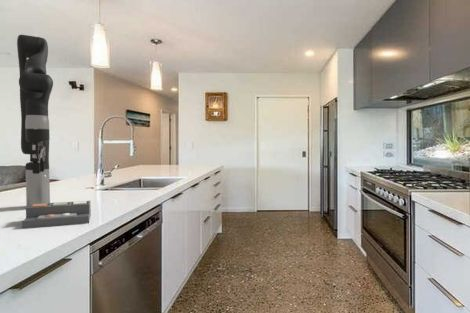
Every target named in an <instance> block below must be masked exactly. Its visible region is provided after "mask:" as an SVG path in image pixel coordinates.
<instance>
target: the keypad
mask: <svg viewBox="0 0 470 313" xmlns="http://www.w3.org/2000/svg"><path fill="white" fill-rule="evenodd" d="M79 201H80V200H79ZM79 201H77V200H76V201H67V202H68V205H60V206H52V205H53V204H54V203H55V202H50V203H48V206H44V207H31V206H32V205H33V204H30V205H29V206H28V207H27V206H26V207H25V218H24V219H23V220H22V229H30V228H43V227H55V226H67V225H80V224H89V223H90V220H91V216H92V215H91V214H92V213H91V212H92V209H91V208H92V207H91V206H92V205H91V200H86V201H87V204H77V205H73V203H74V202H79ZM62 202H63V201H61V202H60V201H59V202H57V203H62ZM41 204H44V203H41Z"/></svg>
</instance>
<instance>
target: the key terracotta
mask: <svg viewBox="0 0 470 313" xmlns="http://www.w3.org/2000/svg"><path fill="white" fill-rule="evenodd" d="M44 206H48V203H44V204H33V205H32V206H31V207H44Z"/></svg>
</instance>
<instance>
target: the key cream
mask: <svg viewBox="0 0 470 313" xmlns="http://www.w3.org/2000/svg"><path fill="white" fill-rule="evenodd" d="M87 201H88V200H81V201H80V200H79V202H76V201H73V202H74V203H73V205H77V204H87Z"/></svg>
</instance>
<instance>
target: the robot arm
mask: <svg viewBox="0 0 470 313" xmlns="http://www.w3.org/2000/svg"><path fill="white" fill-rule="evenodd" d="M16 38H17V40H16V41H17V42H16V46H17V57H18V68H19V78H18V85H19V103H20V116H21V121H20V123H21V127H20V129H21V130H20V149H21V152H22V154H23V155H29V162H27V163H25V165H24V166H25V190H26V191H25V199H26V202H25V203H26V208H27V207H28V206H29V205H30V204H41V203H51V193H50V192H51V189H50V188H51V184H50V180H51V179H50V140H51V138H50V119H49V101H50V96H51V93H52V91H53V87H54V80H53V78H52V77H51V76H50V75H49V74H47V62H48V55H49V46H48V42H47V40H46V39H45V38H44V37H40V36H33V35H29V34H28V35H25V34H18V35H17V37H16Z"/></svg>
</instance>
